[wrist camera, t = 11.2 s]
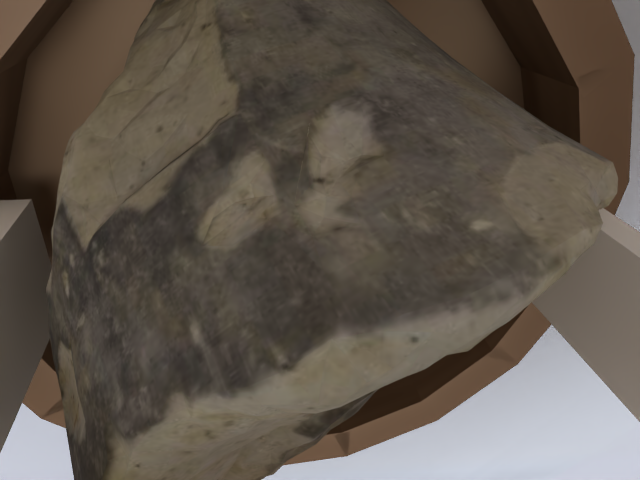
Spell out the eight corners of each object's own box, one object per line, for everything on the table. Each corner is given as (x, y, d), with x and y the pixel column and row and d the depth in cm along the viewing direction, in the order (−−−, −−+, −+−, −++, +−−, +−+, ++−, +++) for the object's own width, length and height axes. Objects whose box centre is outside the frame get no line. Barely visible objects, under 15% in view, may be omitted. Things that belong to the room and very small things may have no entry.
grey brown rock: (387, 414, 16) (265, 866, 7) (166, 270, 17) (-196, 502, 8) (617, 127, 11) (1210, 382, 2) (290, -53, 12) (-282, -418, 3)
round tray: (638, -128, 10) (771, -152, 8) (480, 365, 18) (522, 431, 16) (-173, -216, 8) (-365, -301, 5) (56, 413, 16) (25, 502, 13)
